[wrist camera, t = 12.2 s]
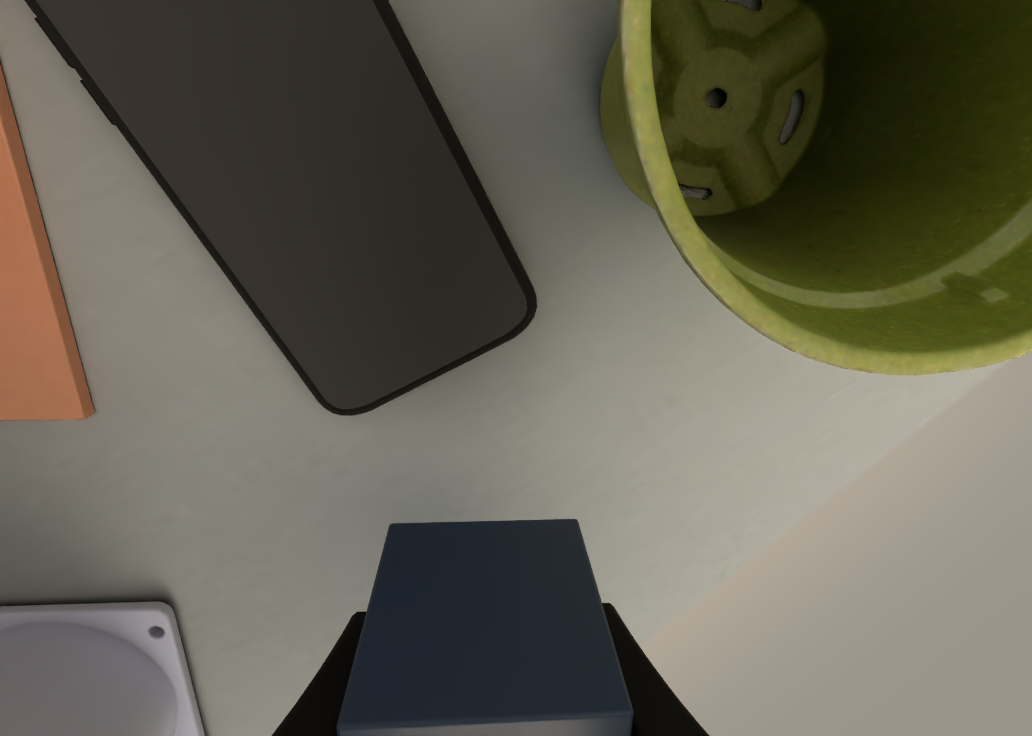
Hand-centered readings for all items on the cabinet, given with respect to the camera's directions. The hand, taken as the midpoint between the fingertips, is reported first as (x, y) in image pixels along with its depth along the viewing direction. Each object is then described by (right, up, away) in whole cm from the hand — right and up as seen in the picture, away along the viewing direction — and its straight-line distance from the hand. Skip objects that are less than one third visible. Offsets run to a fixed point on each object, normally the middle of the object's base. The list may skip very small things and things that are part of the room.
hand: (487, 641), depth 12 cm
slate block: (0, 0, +1) cm, 1 cm away
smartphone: (-5, +12, +2) cm, 14 cm away
